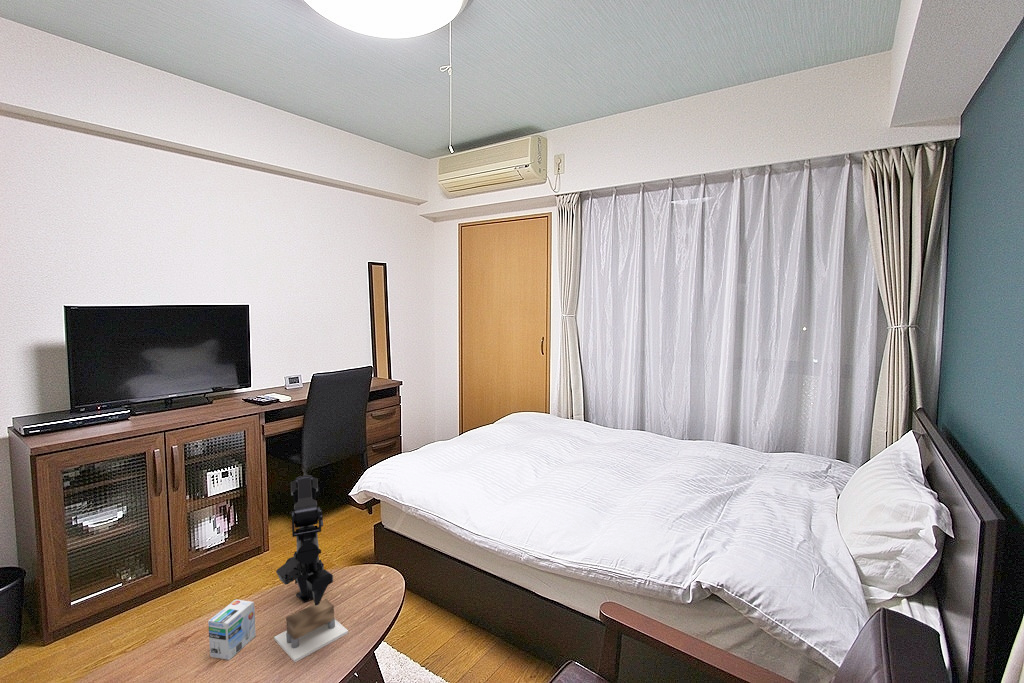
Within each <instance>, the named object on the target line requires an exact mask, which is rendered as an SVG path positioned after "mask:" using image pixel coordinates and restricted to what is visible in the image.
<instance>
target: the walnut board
mask: <svg viewBox="0 0 1024 683" xmlns="http://www.w3.org/2000/svg"><path fill="white" fill-rule="evenodd" d="M334 618H335V605H334V604H333V603H331V602H330V601H329V600H328V599H327V598H324V599H321V601H320V603H319V605H317V606H316V605H315V603H313V604H312V605H310V606H307V607H305V608H304V609H301V610H299V611H296V612H295V613H292V614H291V615H288V616H287V617H286V631H287V633H288V634H289V635H290V636H291V637H292V638H293V639H294V640H295V639H297V638H299V637H301V636H303V635H305V634H307V633H309V632H311V631H313V630H315V629H317V628H319V627H321V626H322V625H324V624H326V623H328V622H330V621H332V620H334Z"/></svg>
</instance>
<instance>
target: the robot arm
mask: <svg viewBox="0 0 1024 683" xmlns="http://www.w3.org/2000/svg"><path fill="white" fill-rule="evenodd" d="M318 479H319V478H317V477H314V476H313V475H310V474H307V475H299V476H297V477H295V479H294V480H292V481H290V496H293V502H294V505H293V511H291V532H292V533H291V534H292V538H296V551H294V552H293V556H291V557H289V558H287V560H286V561H284V562H285V563H284V564H282V565H281V566H280V567H278V568H277V569H276V571H275V572H276V575H277V577H278V578H279V580H280V581H281V582H282V584H284V585H289V584H290V583H292V582H294V583H295V585H296V584H297V586H298V589H299V592H296V594H295V596H296V597H297V598H299V600H301V601H302V602H303V603H306V602H309V601H311V600H313V602H314V603H313V604H315V605H316V606H317V605H319V603H320V601H322V600H323V599H322V598H323V596H324V595H325V591H326V589H327V588H328V587H329V585H331V584H333V582H334V575H333V574H332V573H331V572H329V571H328V570H327V569H324V568H325V567H324V566H325V565H324V563H323V562H322V559H320V556H319V555H321V554H322V549H321V548H319V539H318V538H319V537H318V533H321V532H322V527H323V528H324V518H323V510H322V508H321V507H320V506H318V502H317V500H316V498H317V492H319V483H318V482H319V480H318Z"/></svg>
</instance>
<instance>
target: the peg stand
mask: <svg viewBox="0 0 1024 683" xmlns="http://www.w3.org/2000/svg"><path fill="white" fill-rule="evenodd" d="M347 634H349V630H348V629H347V628H346V627H344V625H342V624H341V623H340V622H339V621H338V620H336V618H335V617H334V620H332V621H330V622H328V623H326V624H324V625H322V626H321V627H319V628H317V629H315V630H313V631H311V632H309V633H307V634H305V635H303V636H301V637H299V638H297V639H295V640H294V639H293V638H292V637H291V636H290V635H289V634H288V633H287V630H284V631H283V632H281V633H279V634H277V635H275V636H274V637H273V640H274V641H275V642H276V643H277V644H278V645H279V647H280V648H281V649H282V650H283V651H284V652H285V653H286V654H287V655H288V657H289V658H290V659H291V660H292V661H293V663H296V662H298V661H300V660H302V659H303V658H306V657H307V656H309V655H311V654H313V653H314V652H316V651H318V650H320V649H322V648H324V647H326V646H327V645H329V644H332V643H333V642H335V641H336V640H339V639H340V638H342V637H344V636H346V635H347Z"/></svg>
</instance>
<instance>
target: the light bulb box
mask: <svg viewBox="0 0 1024 683" xmlns="http://www.w3.org/2000/svg"><path fill="white" fill-rule="evenodd" d="M255 610H256V609H255V602H254V601H249V600H243V599H237V598H236V599H234V600H233V601H231V602H230V603H229V604H228V605H226V606H225V607H224V608H223V609H222V610H220V611H219V612H218V613H216V614H215V615H214V616H212V617H211V618H210V619H208V621H207V624H208V641H209V642H208V643H209V655H210V658H214V659H215V658H216V659H222V660H228V661H230V660H231V659H232V658H233V657H235V655H237V654H238V652H239V653H240V651H241V650H242V649H243V648H244V647H246V646H247V645H248V644H249V643H250V642H251V641H252V640H253V639H254V638H255V637H256V632H257V631H256V615H255V614H256V613H255V612H256V611H255Z"/></svg>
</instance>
